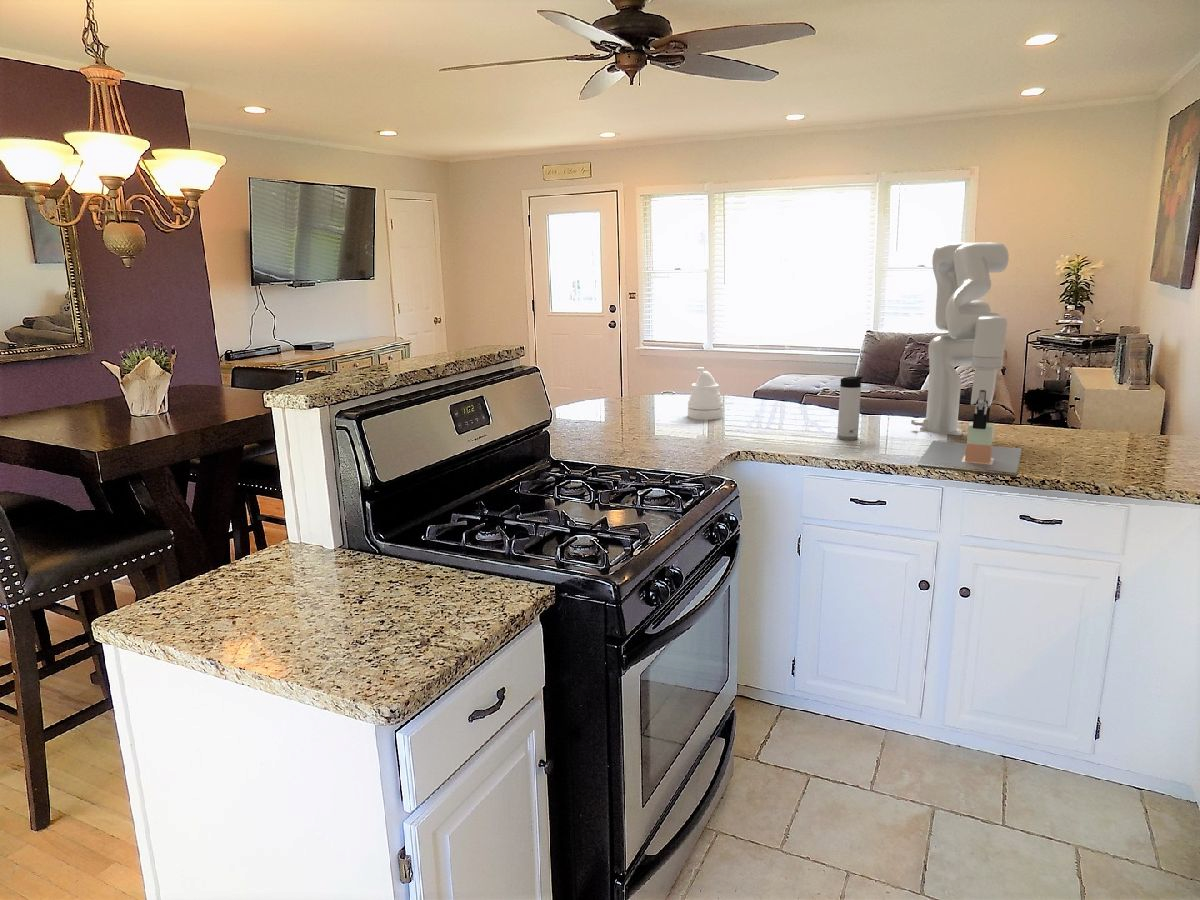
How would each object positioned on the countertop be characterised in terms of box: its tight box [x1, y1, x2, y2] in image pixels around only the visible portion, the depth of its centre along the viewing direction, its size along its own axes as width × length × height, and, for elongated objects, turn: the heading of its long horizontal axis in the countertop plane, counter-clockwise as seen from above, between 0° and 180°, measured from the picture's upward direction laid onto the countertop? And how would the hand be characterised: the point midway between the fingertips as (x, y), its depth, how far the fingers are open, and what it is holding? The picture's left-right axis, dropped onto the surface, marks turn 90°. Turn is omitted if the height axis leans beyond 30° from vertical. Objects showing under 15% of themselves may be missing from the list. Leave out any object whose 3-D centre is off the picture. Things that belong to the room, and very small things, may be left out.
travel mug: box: [837, 375, 863, 441], centre depth 249 cm, size 6×7×20 cm
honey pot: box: [687, 366, 724, 421], centre depth 288 cm, size 13×13×18 cm
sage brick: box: [966, 421, 995, 446], centre depth 215 cm, size 6×6×5 cm
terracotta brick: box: [965, 443, 993, 463], centre depth 216 cm, size 6×6×5 cm
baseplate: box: [917, 440, 1023, 478], centre depth 222 cm, size 24×30×1 cm
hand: (980, 424), depth 215 cm, fingers open, 9 cm apart
